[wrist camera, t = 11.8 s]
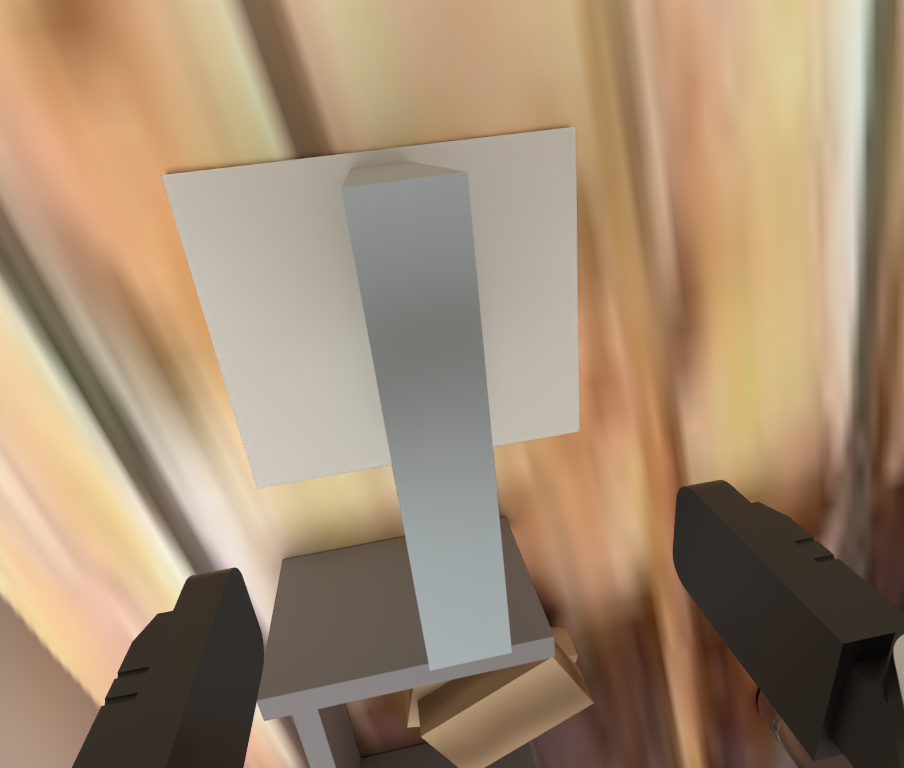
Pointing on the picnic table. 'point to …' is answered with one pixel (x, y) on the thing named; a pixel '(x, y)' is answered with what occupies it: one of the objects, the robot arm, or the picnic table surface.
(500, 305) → the mat
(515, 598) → the rack
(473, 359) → the grey flat slab
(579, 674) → the offcut
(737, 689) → the picnic table surface
